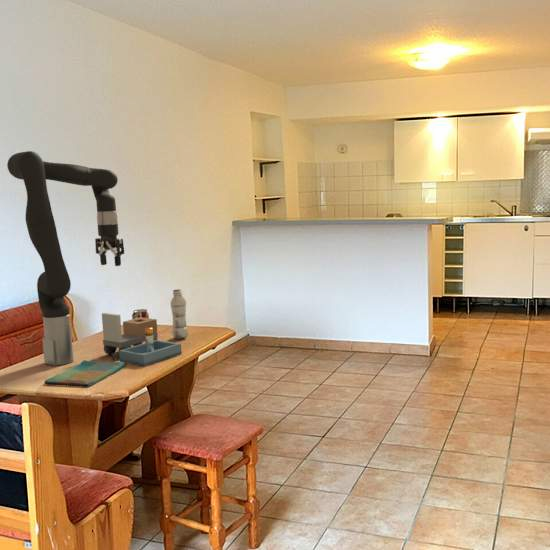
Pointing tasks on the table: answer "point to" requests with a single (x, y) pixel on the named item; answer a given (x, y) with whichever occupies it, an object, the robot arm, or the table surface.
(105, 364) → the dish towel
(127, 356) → the tray
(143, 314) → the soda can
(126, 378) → the table surface
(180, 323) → the plastic bottle
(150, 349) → the stop pin
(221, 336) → the table surface
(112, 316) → the trolley
